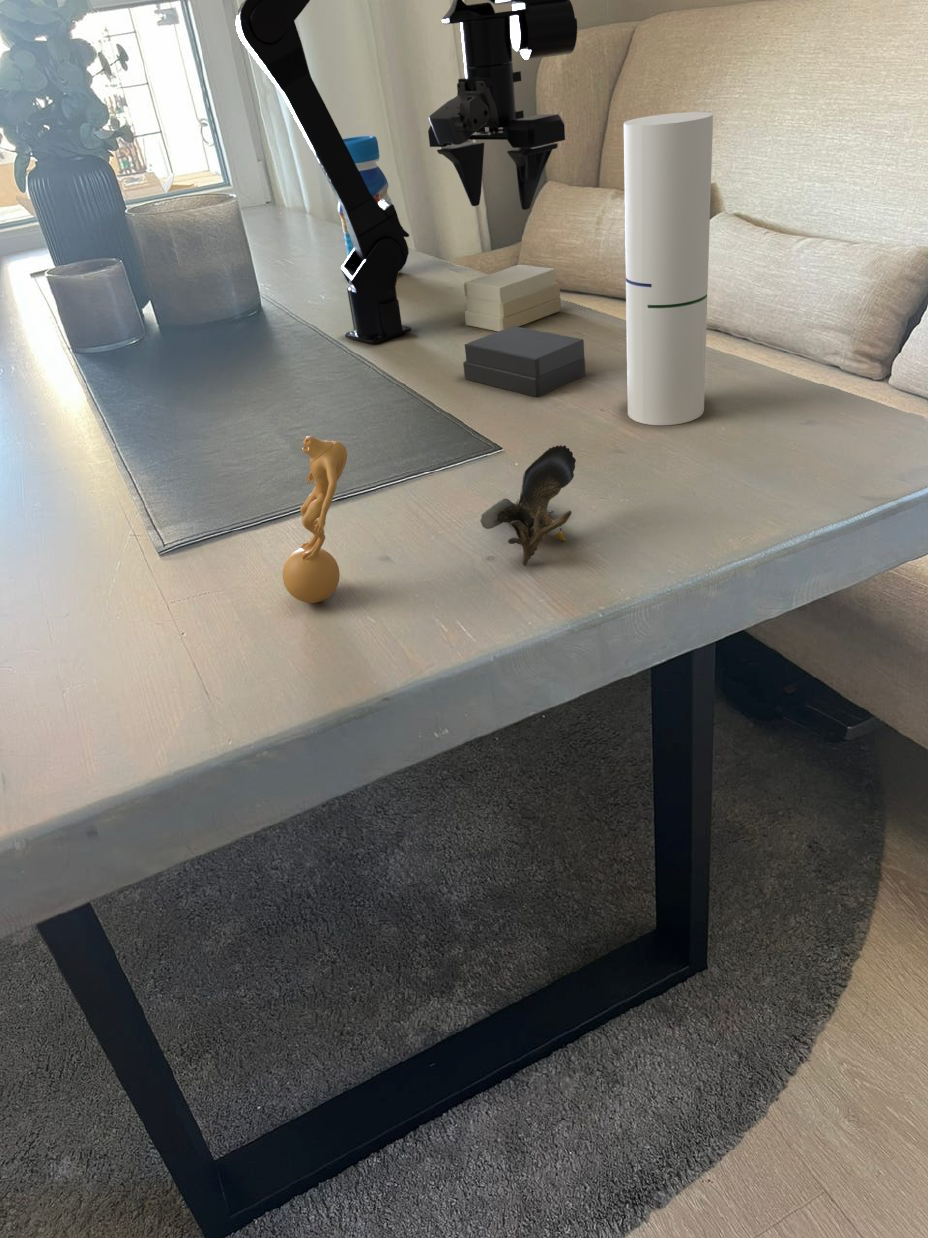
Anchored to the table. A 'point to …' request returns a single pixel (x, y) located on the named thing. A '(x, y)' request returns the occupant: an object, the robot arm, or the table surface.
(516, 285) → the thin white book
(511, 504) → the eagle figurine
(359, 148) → the beverage bottle
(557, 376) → the grey books
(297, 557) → the figurine
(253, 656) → the table surface
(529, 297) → the white books
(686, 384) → the cylindrical container
